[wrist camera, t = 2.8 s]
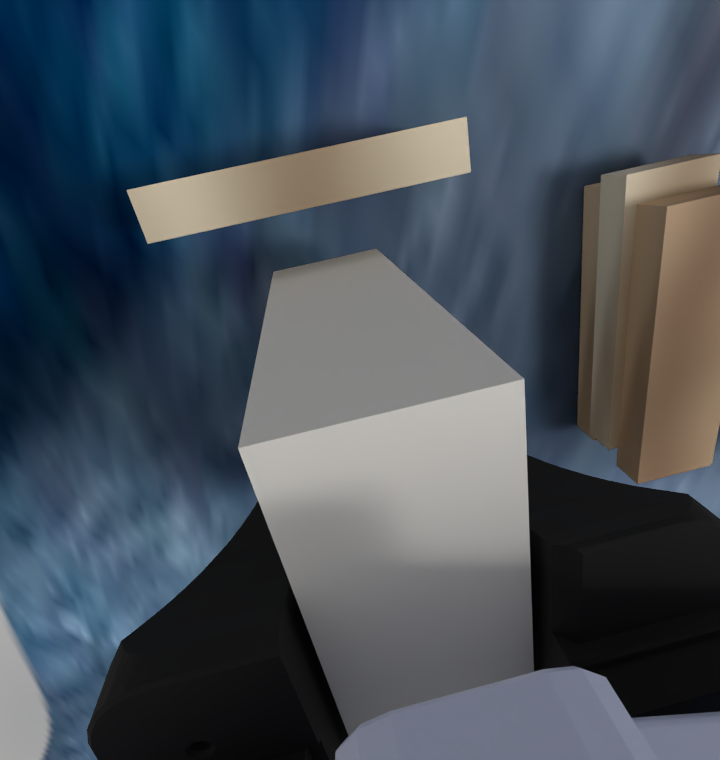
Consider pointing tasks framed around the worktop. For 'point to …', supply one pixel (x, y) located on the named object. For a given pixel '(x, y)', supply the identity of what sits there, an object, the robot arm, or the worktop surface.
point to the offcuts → (652, 315)
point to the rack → (301, 180)
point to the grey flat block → (391, 485)
